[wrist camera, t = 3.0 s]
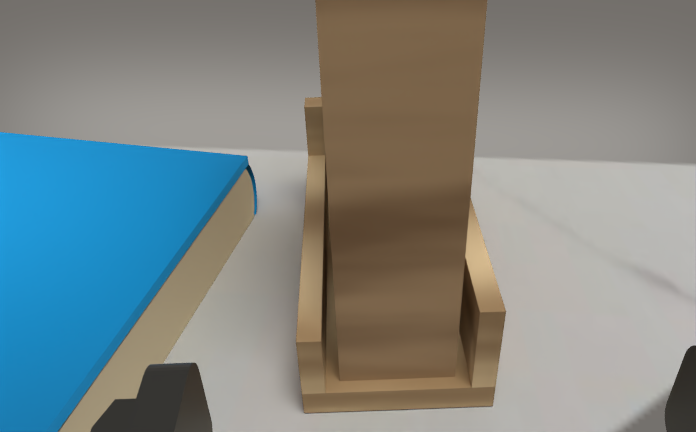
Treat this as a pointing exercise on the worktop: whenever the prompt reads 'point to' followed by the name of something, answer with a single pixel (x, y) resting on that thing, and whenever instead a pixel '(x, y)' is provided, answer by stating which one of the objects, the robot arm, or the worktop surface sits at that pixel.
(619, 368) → the worktop surface
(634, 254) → the worktop surface
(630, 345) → the worktop surface
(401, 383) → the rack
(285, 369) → the worktop surface
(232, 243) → the book
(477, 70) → the tall wooden block
